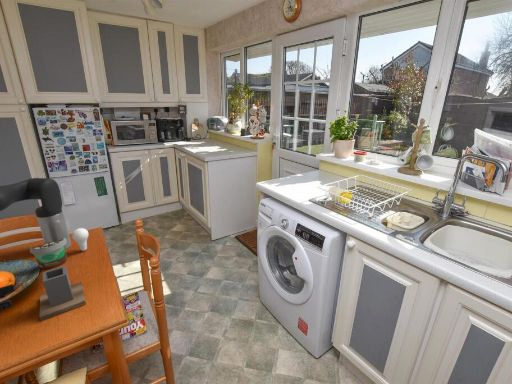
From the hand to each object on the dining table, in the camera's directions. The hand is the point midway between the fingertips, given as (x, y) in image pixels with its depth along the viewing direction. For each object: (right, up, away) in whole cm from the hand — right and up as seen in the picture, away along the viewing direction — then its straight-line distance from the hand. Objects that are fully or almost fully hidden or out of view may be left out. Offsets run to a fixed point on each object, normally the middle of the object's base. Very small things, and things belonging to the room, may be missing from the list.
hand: (12, 294), depth 81 cm
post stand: (+9, -6, +9) cm, 14 cm away
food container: (-9, +1, +28) cm, 30 cm away
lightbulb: (-4, +5, +39) cm, 40 cm away
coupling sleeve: (+9, -4, +9) cm, 13 cm away
